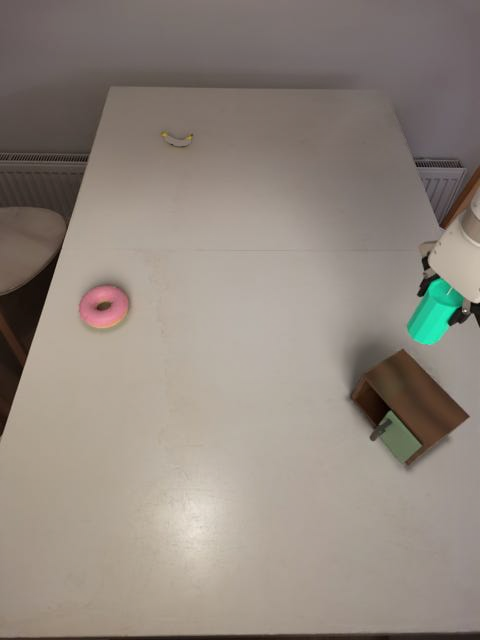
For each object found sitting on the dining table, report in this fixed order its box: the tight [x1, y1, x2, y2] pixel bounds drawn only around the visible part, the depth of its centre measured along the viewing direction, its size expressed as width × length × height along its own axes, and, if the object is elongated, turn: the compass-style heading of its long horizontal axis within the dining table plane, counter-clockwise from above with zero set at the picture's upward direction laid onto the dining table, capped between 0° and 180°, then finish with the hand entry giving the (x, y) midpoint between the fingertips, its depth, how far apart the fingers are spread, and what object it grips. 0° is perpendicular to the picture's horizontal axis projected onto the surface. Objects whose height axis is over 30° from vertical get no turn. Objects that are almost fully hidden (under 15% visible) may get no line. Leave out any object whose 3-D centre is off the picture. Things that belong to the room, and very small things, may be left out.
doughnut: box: [77, 284, 130, 329], centre depth 96 cm, size 11×11×4 cm
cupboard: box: [350, 348, 471, 467], centre depth 80 cm, size 10×16×10 cm, turn 33°
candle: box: [406, 277, 464, 345], centre depth 70 cm, size 6×6×12 cm
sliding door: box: [368, 410, 422, 464], centre depth 76 cm, size 4×7×9 cm, turn 33°
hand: (439, 306), depth 69 cm, fingers closed on candle, 6 cm apart
